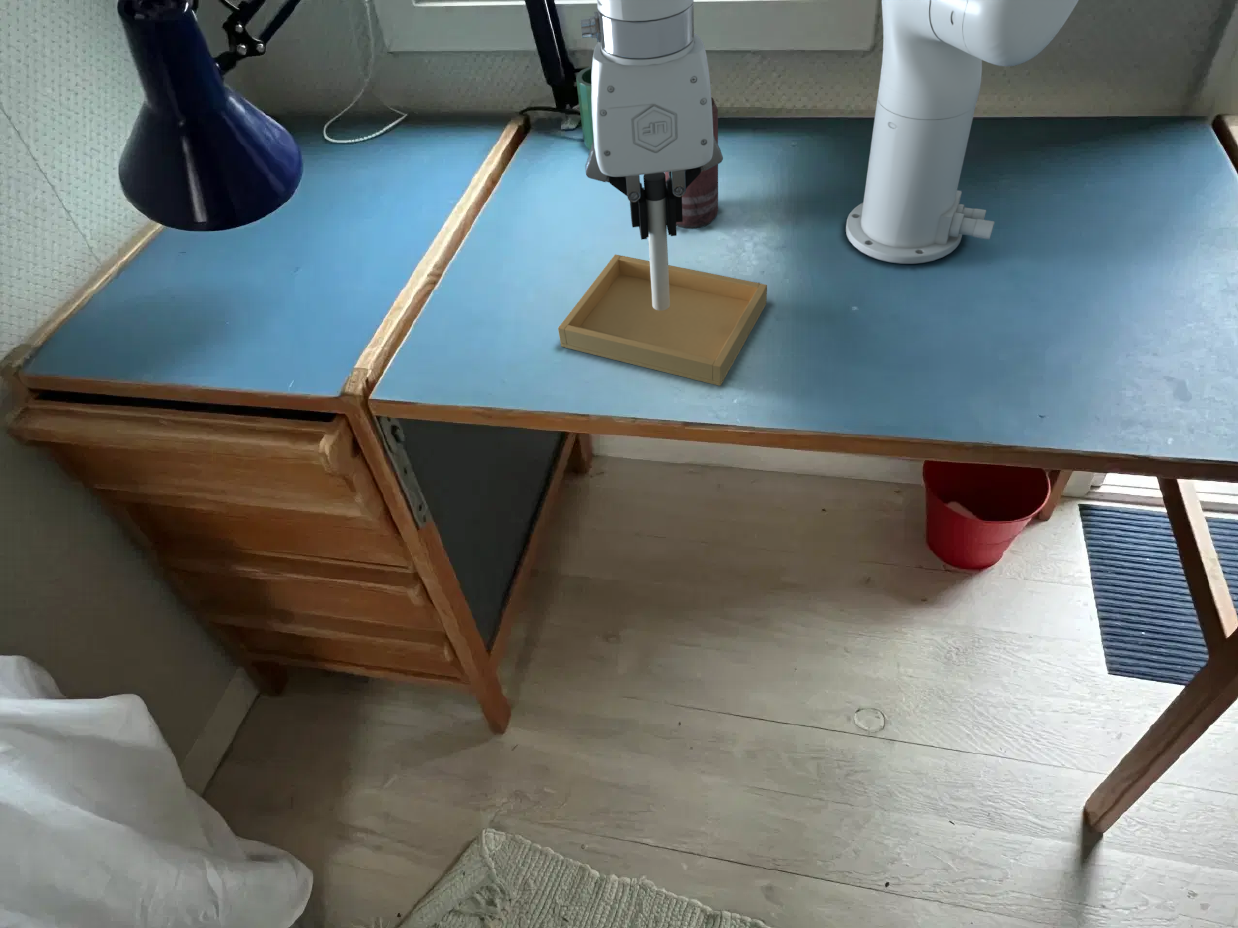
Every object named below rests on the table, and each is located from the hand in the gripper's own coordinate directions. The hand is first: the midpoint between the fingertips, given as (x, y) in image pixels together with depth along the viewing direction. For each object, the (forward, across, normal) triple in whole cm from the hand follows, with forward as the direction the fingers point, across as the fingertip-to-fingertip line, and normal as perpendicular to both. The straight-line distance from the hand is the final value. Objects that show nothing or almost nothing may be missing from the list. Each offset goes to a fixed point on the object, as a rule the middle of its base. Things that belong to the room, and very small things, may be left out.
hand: (657, 228), depth 83 cm
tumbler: (+12, -3, +41) cm, 43 cm away
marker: (+9, 0, 0) cm, 9 cm away
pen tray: (+12, 0, 0) cm, 12 cm away
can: (+12, +6, +20) cm, 24 cm away
